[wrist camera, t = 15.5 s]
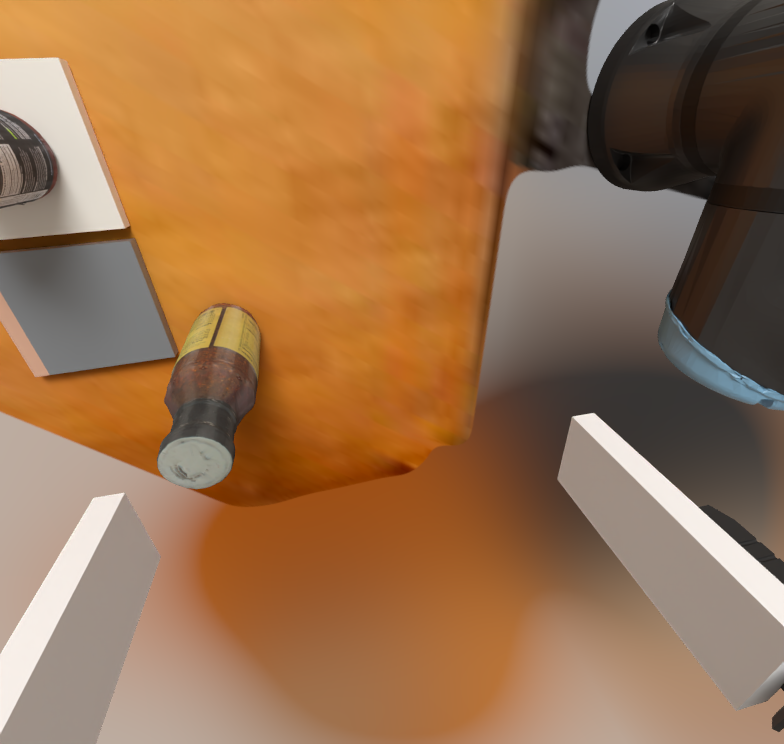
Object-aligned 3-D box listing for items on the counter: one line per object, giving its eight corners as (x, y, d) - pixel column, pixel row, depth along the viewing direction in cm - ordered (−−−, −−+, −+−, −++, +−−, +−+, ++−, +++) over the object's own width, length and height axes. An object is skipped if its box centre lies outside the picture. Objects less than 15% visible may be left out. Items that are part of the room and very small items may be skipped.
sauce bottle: (197, 356, 40) (128, 509, 23) (193, 297, 37) (109, 422, 20) (265, 358, 41) (246, 502, 25) (265, 302, 38) (245, 422, 22)
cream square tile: (67, 61, 27) (58, 57, 26) (130, 225, 33) (125, 228, 32) (-141, 67, 25) (-159, 63, 24) (-36, 241, 31) (-47, 244, 30)
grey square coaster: (134, 238, 33) (129, 240, 32) (178, 351, 39) (175, 356, 38) (-29, 253, 31) (-39, 257, 30) (42, 370, 37) (35, 377, 36)
